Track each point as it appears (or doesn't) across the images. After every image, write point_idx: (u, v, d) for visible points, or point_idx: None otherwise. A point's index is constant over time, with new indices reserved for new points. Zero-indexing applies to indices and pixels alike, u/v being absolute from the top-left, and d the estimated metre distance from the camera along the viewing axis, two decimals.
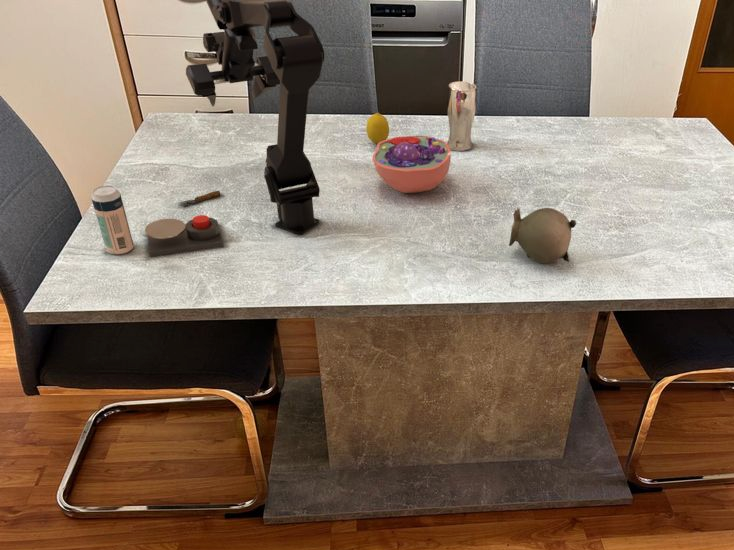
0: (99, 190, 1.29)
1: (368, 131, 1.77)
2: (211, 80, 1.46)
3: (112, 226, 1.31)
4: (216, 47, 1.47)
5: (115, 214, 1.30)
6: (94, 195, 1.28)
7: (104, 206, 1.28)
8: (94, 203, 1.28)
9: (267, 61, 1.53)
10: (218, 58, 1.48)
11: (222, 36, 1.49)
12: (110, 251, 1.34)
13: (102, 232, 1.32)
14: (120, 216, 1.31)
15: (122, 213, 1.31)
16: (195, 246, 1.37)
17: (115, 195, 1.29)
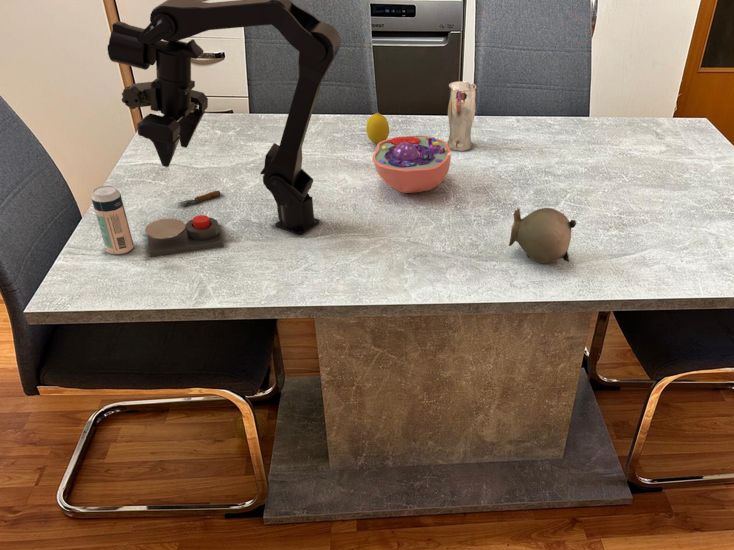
0: (99, 190, 1.29)
1: (368, 131, 1.77)
2: (172, 120, 1.29)
3: (112, 226, 1.31)
4: (145, 94, 1.30)
5: (115, 214, 1.30)
6: (94, 195, 1.28)
7: (104, 206, 1.28)
8: (94, 203, 1.28)
9: None
10: (154, 103, 1.30)
11: None
12: (110, 251, 1.34)
13: (102, 232, 1.32)
14: (120, 216, 1.31)
15: (122, 213, 1.31)
16: (195, 246, 1.37)
17: (115, 195, 1.29)
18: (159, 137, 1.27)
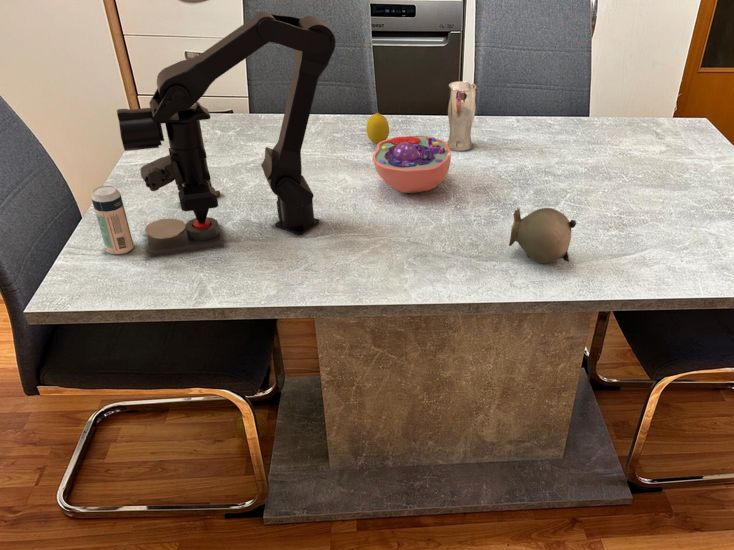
0: (99, 190, 1.29)
1: (368, 131, 1.77)
2: (207, 185, 1.29)
3: (112, 226, 1.31)
4: (167, 171, 1.28)
5: (115, 214, 1.30)
6: (94, 195, 1.28)
7: (104, 206, 1.28)
8: (94, 203, 1.28)
9: None
10: (179, 177, 1.29)
11: (150, 169, 1.29)
12: (110, 251, 1.34)
13: (102, 232, 1.32)
14: (120, 216, 1.31)
15: (122, 213, 1.31)
16: (195, 246, 1.37)
17: (115, 195, 1.29)
18: (205, 205, 1.28)
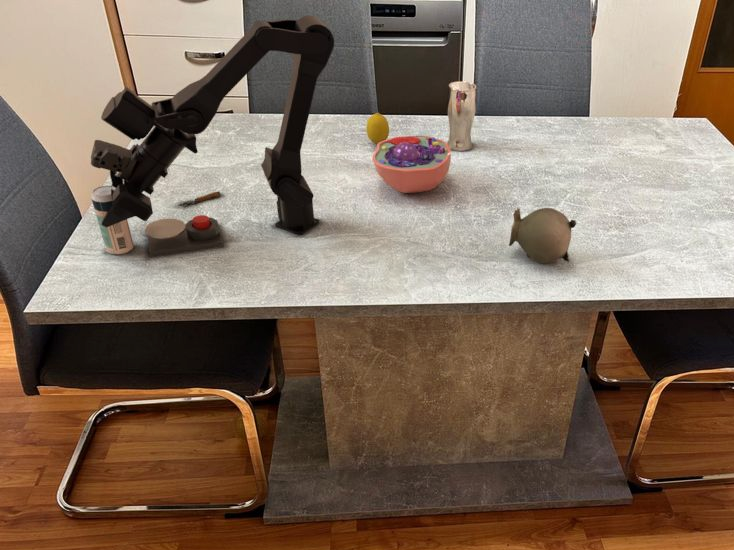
0: (99, 190, 1.29)
1: (368, 131, 1.77)
2: (149, 198, 1.27)
3: (112, 226, 1.31)
4: (123, 162, 1.25)
5: None
6: (94, 195, 1.28)
7: (104, 206, 1.28)
8: (94, 203, 1.28)
9: None
10: (127, 173, 1.26)
11: (106, 148, 1.24)
12: (110, 251, 1.34)
13: (102, 232, 1.32)
14: None
15: None
16: (195, 246, 1.37)
17: None
18: (137, 213, 1.24)
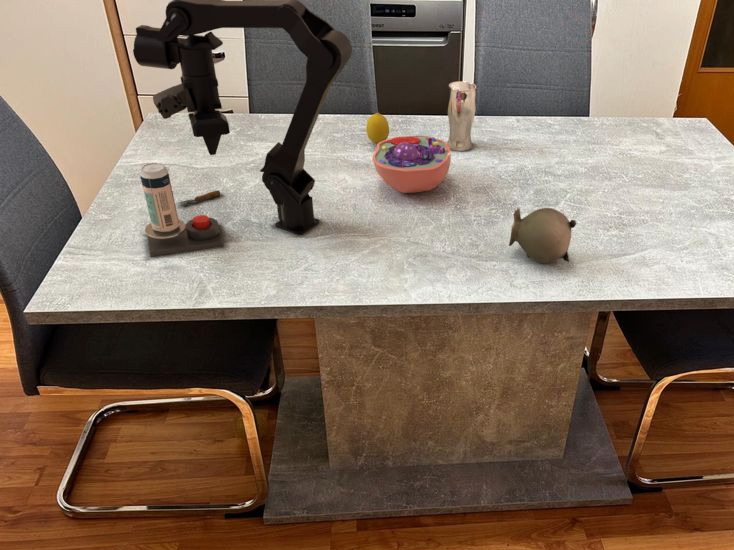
0: (147, 167, 1.30)
1: (368, 131, 1.77)
2: (219, 112, 1.31)
3: (160, 203, 1.31)
4: (179, 98, 1.30)
5: (163, 191, 1.31)
6: (143, 172, 1.28)
7: (153, 182, 1.29)
8: (143, 180, 1.29)
9: None
10: (191, 104, 1.31)
11: (163, 96, 1.31)
12: (157, 229, 1.35)
13: (149, 209, 1.33)
14: (168, 194, 1.32)
15: (170, 190, 1.32)
16: (195, 246, 1.37)
17: (163, 172, 1.29)
18: (217, 132, 1.29)
